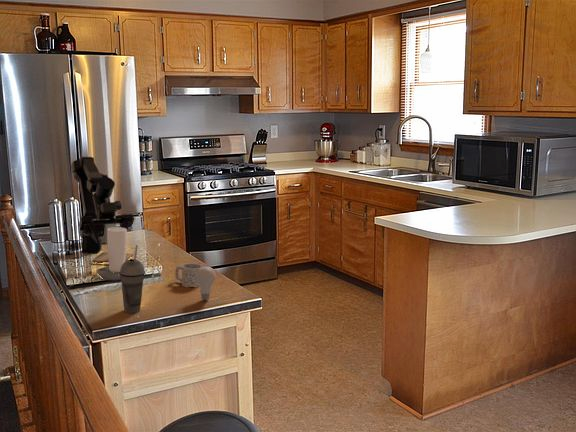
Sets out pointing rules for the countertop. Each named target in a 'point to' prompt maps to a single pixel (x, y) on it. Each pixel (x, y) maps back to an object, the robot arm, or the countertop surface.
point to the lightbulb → (205, 281)
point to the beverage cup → (132, 284)
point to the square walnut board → (104, 257)
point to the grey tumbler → (116, 247)
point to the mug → (188, 274)
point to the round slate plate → (108, 274)
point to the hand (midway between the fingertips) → (111, 241)
